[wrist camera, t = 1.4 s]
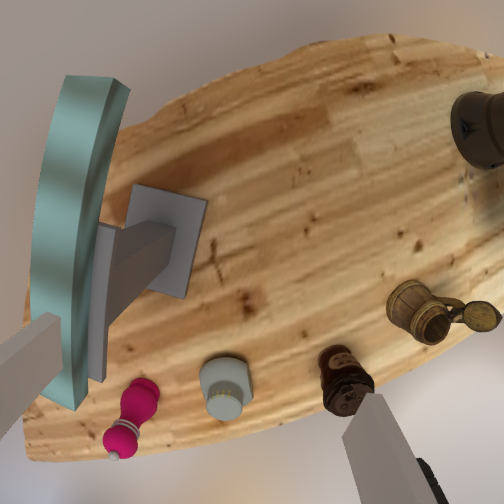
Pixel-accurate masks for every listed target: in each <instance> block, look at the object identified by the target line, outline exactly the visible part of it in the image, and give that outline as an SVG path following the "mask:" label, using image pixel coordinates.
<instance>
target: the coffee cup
mask: <svg viewBox="0 0 504 504" xmlns="http://www.w3.org/2000/svg"><path fill="white" fill-rule="evenodd" d="M318 365H319V367H320V369H321V375H320V379H321V388H322V390H323V404H324V407H325V408H326V409H327V410H328V411H330V412H332V413H333V414H335V415H336V416H341V417H347V416H351V415H355V414H356V412H357V410H358V408H359V407H360V405H361V403H362V401H363V399H364V397H365V396H366V394H367V393H373V394H374V381H373V379H372V377H371V376H370V375H369V374H367V373H366V371H365V370H364V369H363V368H362V366H361V365H360V363H359V362H358V361H357V360H356V358H355V357H354V356H353V355H352V354H351V351H350V350H349V349H348V348H346V347H345V346H342V345H335V346H331V347H328V348H326V349H325V350H324V351H322V352H321V353H320V356H319V358H318Z"/></svg>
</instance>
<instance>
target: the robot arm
mask: <svg viewBox="0 0 504 504" xmlns="http://www.w3.org/2000/svg"><path fill="white" fill-rule="evenodd" d="M451 127H452V133H453V137H454V140H455V142H456V145H457V147H458V149H459V151H460V152H461V154H462V155H463V157H464V158H465V159H466V160H467V161H468V162H469V163H470V164H472V165H473V166H475V167H477V168H480V169H494V168H497V167H499V166H501V165H503V164H504V92H502V93H499V94H495V95H493V94H486V93H482V92H477V91H474V92H469V93H466V94H463V95H461V96H460V97H459V98H458V99H457V100H456V101H455V103H454V105H453V108H452V113H451ZM62 369H63V363H62V346H61V317H59V316H57V315H55V314H52V313H50V312H48V311H47V312H45V313H44V314H42V315H41V316H40V317H38V318H37V319H35V320H34V321H33V322H31V323H30V324H28V325H27V326H26V327H24V328H23V329H22V330H20V331H19V332H17V333H16V334H15V335H13V336H12V337H11V338H9V339H8V340H7V341H5V342H4V343H3V344H1V345H0V440H1V439H2V437H3V436H4V435H5V434H6V433H7V431H8V430H9V429H10V428H11V427H12V425H13V424H14V423H15V422H16V421H17V420H18V418H19V417H20V416H21V415H22V414H23V413H24V411H25V410H26V409H27V408H28V407H29V406H30V405H31V403H32V402H33V401H34V400H35V399H36V398H37V397H38V395H39V394H40V393H41V392H42V391H43V390H44V389H45V388H46V387H47V385H48V384H49V383H50V382H51V381H52V380H53V379H54V378H55V377H56V376H57V374H58V373H59V372H60V371H61V370H62ZM342 439H343V442H344V446H345V449H346V452H347V455H348V459H349V462H350V465H351V469H352V472H353V476H354V479H355V482H356V486H357V489H358V492H359V496H360V500H361V503H362V504H449V503H448V501H447V499H446V497H445V495H444V493H443V491H442V489H441V487H440V485H438V482H437V479H436V478H434V474H433V472H432V470H431V468H430V466H429V465H428V464H427V463H426V462H425V461H424V460H423V459H422V458H415V456H414V454H413V452H412V450H411V448H410V446H409V445H408V442H407V441H406V439H405V437H404V435H403V433H402V431H401V429H400V427H399V425H398V423H397V422H396V420H395V418H394V416H393V414H392V412H391V411H390V409H389V407H388V405H387V403H386V401H385V399H384V398H383V396H382V394H373V393H367V394H366V396H365V397H364V399H363V401H362V403H361V405H360V407H359V408H358V410H357V412H356V414H355V415H354V417H353V419H352V421H351V423H350V424H349V426H348V428H347V429H346V431H345V432H344V434H343V436H342Z"/></svg>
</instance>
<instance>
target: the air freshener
mask: <svg viewBox="0 0 504 504" xmlns="http://www.w3.org/2000/svg"><path fill="white" fill-rule="evenodd" d="M199 377H200V384H201V389H202V392H203V395H204V398H205V400H206V410H207V412H208V413H209V414H210V415H211V416H212V417H214V418H216V419H218V420H223V421H229V420H233V419H235V418H237V417H239V416H240V414H241V413H242V407H243V406H245V405H247V404H248V403H249V402H251V401H252V399H253V397H254V396H253V387H252V381H251V376H250V371H249V368H248V365H247V364H246V363H244V362H243V361H241V360H238V359H235V358H229V357H222V358H217V359H213V360H211V361H209V362H208V363H206V364H205V365H204V366H203V367H202V368H201V369H200V372H199Z"/></svg>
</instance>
